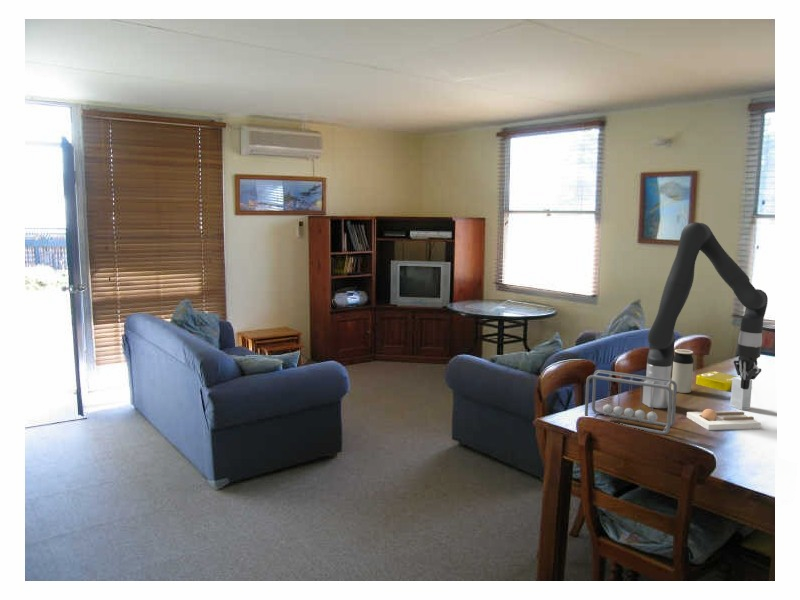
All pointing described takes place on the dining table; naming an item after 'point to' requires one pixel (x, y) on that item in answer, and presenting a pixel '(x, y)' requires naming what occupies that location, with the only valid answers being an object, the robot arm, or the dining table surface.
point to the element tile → (715, 380)
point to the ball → (709, 415)
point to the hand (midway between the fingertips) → (744, 388)
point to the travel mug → (682, 370)
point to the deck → (725, 420)
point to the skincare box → (740, 394)
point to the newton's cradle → (629, 411)
